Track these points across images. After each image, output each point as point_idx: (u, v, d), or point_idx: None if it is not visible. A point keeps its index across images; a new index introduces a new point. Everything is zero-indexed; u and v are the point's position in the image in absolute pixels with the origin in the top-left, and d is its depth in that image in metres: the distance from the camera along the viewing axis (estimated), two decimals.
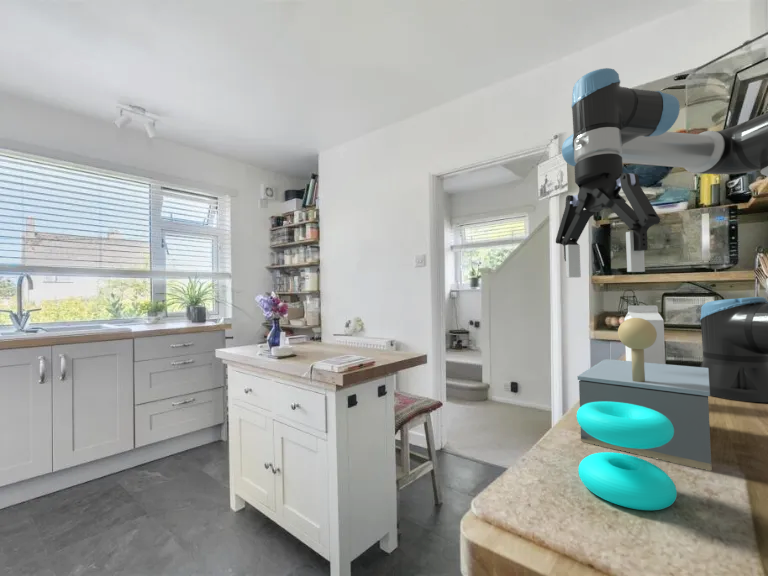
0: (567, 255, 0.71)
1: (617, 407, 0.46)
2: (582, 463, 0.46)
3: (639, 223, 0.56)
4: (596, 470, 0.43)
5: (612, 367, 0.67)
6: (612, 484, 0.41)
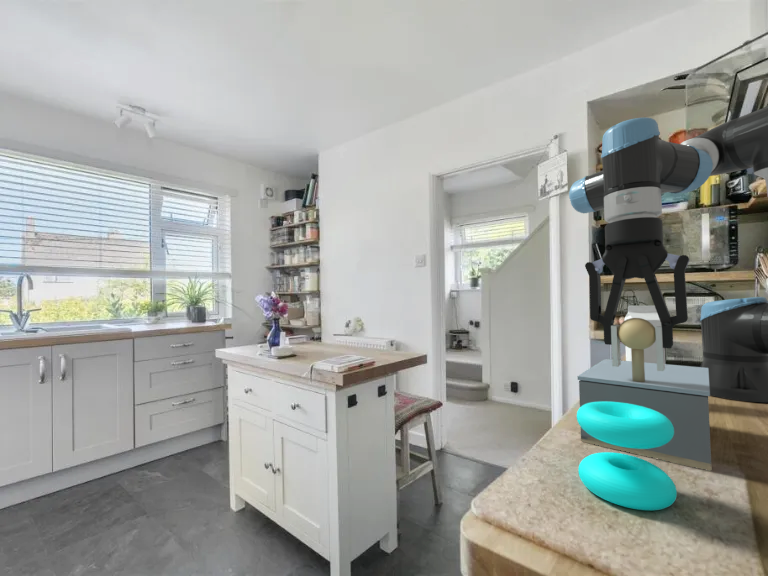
0: (614, 339, 0.57)
1: (617, 407, 0.46)
2: (582, 463, 0.46)
3: (671, 320, 0.52)
4: (596, 470, 0.43)
5: (612, 367, 0.67)
6: (612, 484, 0.41)
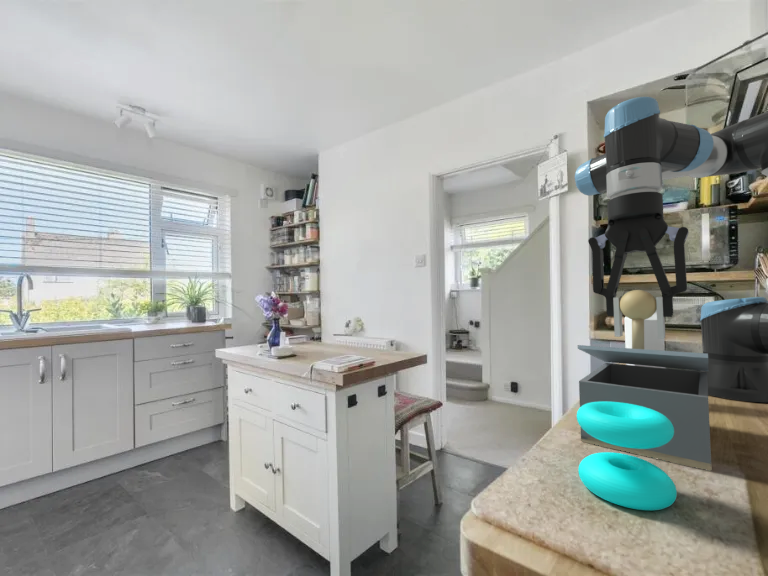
0: (617, 310, 0.59)
1: (617, 407, 0.46)
2: (582, 463, 0.46)
3: (671, 289, 0.55)
4: (596, 470, 0.43)
5: None
6: (612, 484, 0.41)
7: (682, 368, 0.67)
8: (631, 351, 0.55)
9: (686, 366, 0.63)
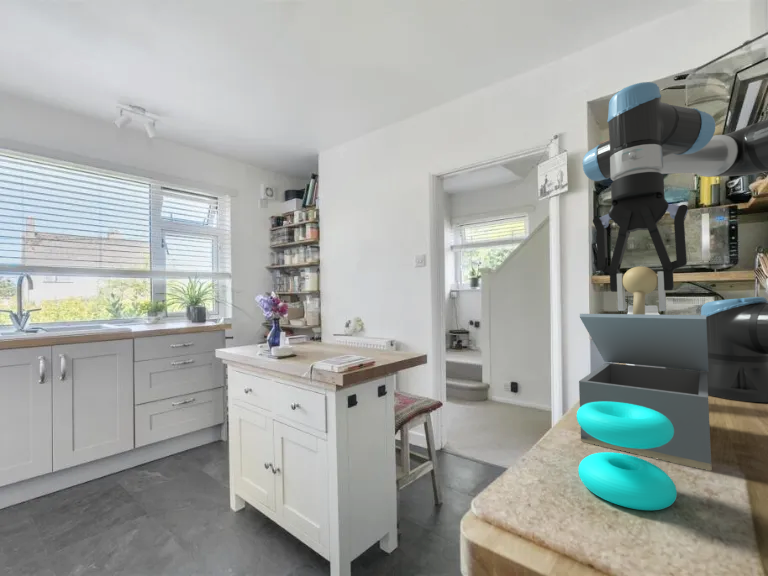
0: (620, 285, 0.62)
1: (617, 407, 0.46)
2: (582, 463, 0.46)
3: (672, 264, 0.58)
4: (596, 470, 0.43)
5: None
6: (612, 484, 0.41)
7: (682, 367, 0.67)
8: (632, 316, 0.57)
9: (686, 358, 0.63)
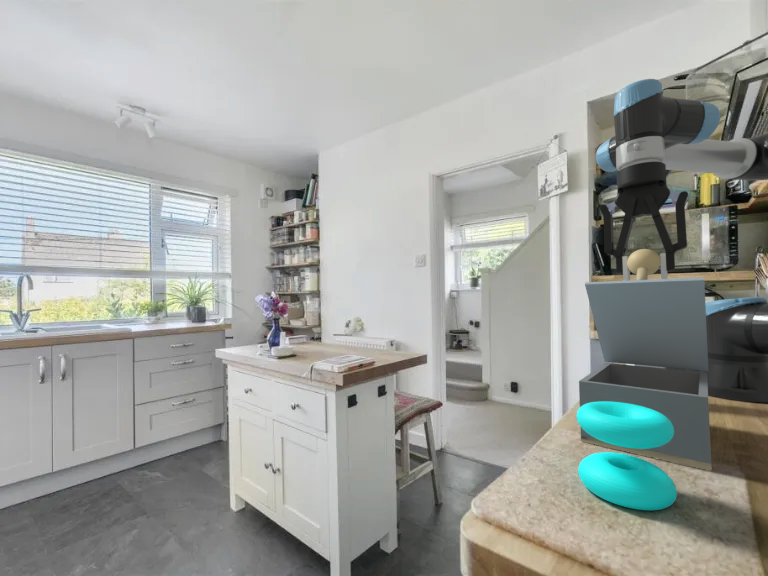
0: (625, 267, 0.67)
1: (617, 407, 0.46)
2: (582, 463, 0.46)
3: (673, 246, 0.63)
4: (596, 470, 0.43)
5: None
6: (612, 484, 0.41)
7: (682, 366, 0.67)
8: (634, 282, 0.60)
9: (686, 348, 0.64)
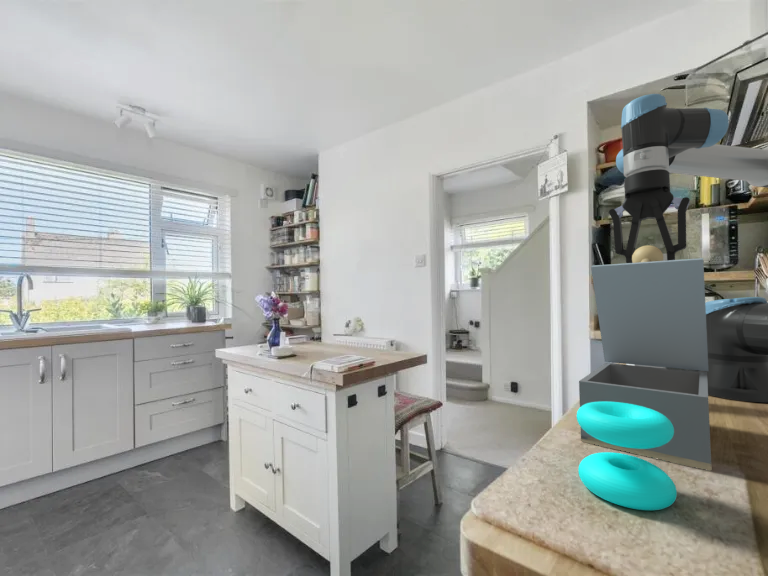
0: None
1: (617, 407, 0.46)
2: (582, 463, 0.46)
3: (674, 247, 0.69)
4: (596, 470, 0.43)
5: None
6: (612, 484, 0.41)
7: (682, 365, 0.67)
8: (638, 263, 0.65)
9: (686, 342, 0.65)
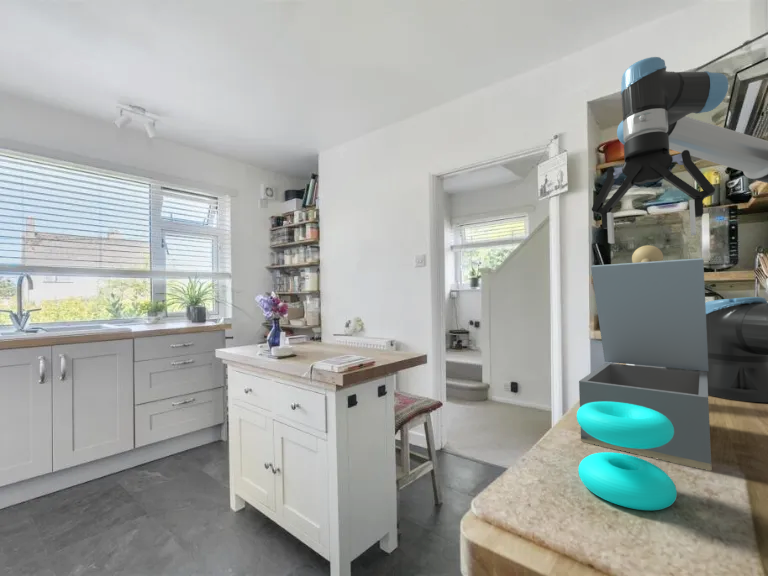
0: (609, 222, 0.77)
1: (617, 407, 0.46)
2: (582, 463, 0.46)
3: (702, 193, 0.67)
4: (596, 470, 0.43)
5: None
6: (612, 484, 0.41)
7: (682, 365, 0.67)
8: (638, 263, 0.65)
9: (686, 342, 0.65)
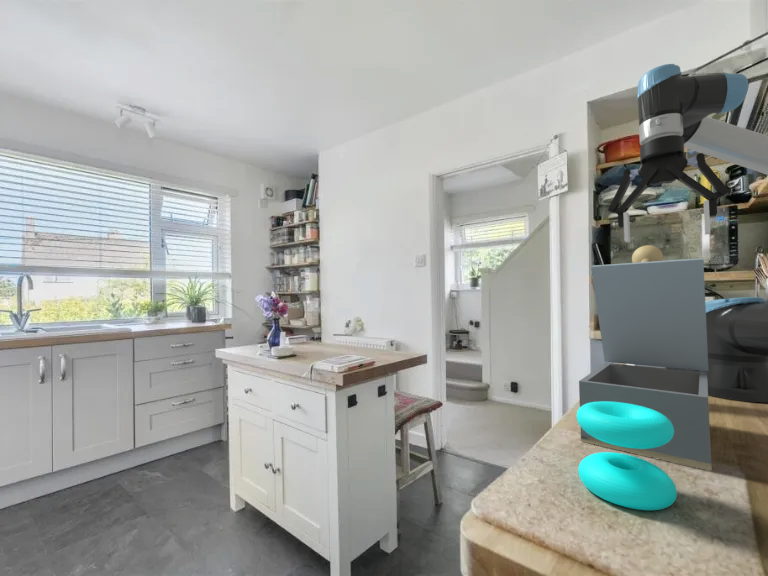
0: (626, 221, 0.80)
1: (617, 407, 0.46)
2: (582, 463, 0.46)
3: (716, 194, 0.71)
4: (596, 470, 0.43)
5: None
6: (612, 484, 0.41)
7: (682, 365, 0.67)
8: (638, 263, 0.65)
9: (686, 342, 0.65)
